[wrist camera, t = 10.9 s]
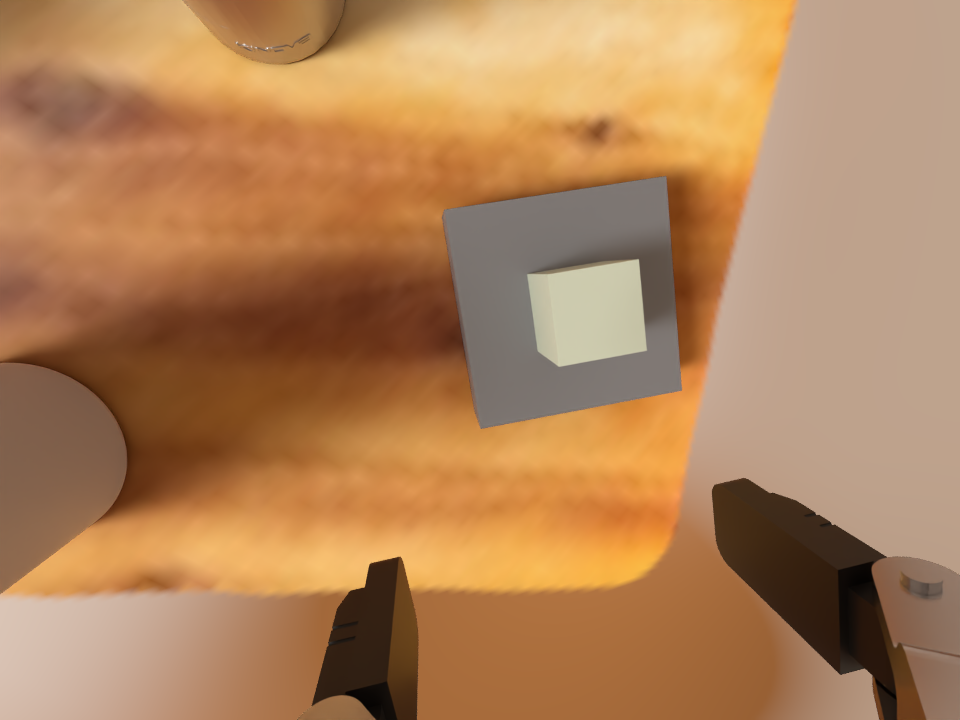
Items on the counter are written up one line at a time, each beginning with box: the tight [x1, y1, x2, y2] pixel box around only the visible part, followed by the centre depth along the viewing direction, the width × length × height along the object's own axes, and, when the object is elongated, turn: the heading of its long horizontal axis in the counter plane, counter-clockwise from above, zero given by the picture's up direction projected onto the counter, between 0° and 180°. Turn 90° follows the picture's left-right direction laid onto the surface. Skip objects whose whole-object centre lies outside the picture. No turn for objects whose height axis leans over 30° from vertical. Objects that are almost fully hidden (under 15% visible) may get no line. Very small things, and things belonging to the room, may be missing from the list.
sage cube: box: [527, 259, 647, 367], centre depth 28 cm, size 5×5×5 cm
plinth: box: [442, 176, 682, 429], centre depth 32 cm, size 14×14×4 cm
